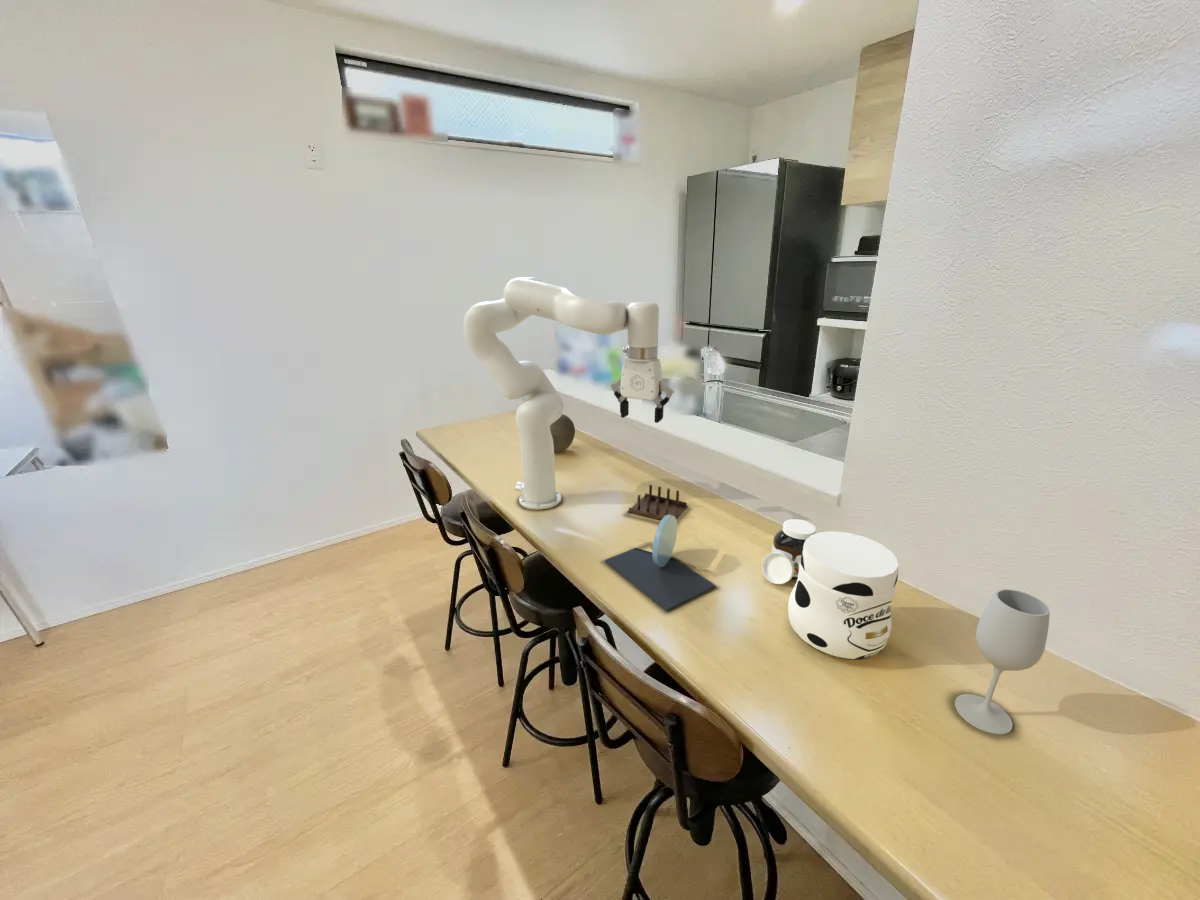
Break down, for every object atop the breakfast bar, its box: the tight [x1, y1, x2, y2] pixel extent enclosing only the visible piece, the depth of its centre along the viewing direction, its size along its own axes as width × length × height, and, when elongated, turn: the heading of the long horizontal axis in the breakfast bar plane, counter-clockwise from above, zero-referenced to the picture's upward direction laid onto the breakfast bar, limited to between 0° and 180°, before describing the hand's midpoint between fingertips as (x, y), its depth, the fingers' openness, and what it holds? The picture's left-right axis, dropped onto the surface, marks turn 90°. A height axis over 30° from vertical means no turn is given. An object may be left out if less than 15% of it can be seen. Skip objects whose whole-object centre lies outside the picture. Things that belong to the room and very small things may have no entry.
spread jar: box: [761, 518, 817, 585], centre depth 109 cm, size 12×11×12 cm
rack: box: [626, 484, 689, 522], centre depth 139 cm, size 14×12×6 cm
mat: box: [604, 547, 716, 612], centre depth 112 cm, size 22×14×1 cm, turn 34°
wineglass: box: [954, 588, 1051, 736], centre depth 73 cm, size 8×8×21 cm
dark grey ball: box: [550, 413, 576, 453], centre depth 184 cm, size 14×14×15 cm
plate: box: [651, 515, 678, 567], centre depth 113 cm, size 1×12×12 cm
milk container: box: [787, 530, 899, 661], centre depth 90 cm, size 17×17×18 cm
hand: (641, 418), depth 129 cm, fingers open, 9 cm apart
